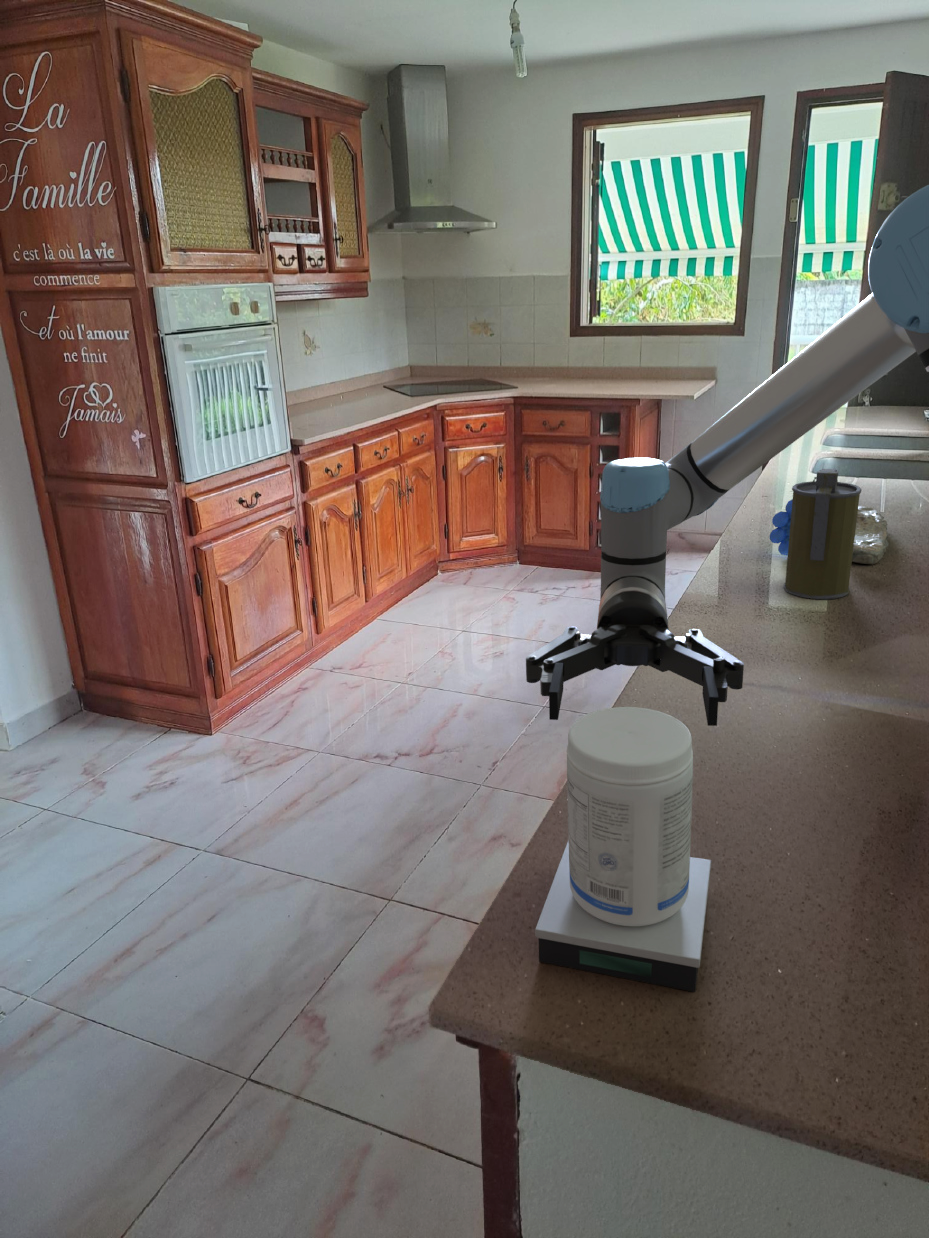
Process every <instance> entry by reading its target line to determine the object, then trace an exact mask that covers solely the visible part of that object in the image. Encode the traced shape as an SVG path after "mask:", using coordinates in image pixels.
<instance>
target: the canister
mask: <svg viewBox="0 0 929 1238" xmlns="http://www.w3.org/2000/svg"><path fill="white" fill-rule="evenodd" d="M813 478H814V479H812V481H804V482H798V483H795V484H793V485H792V487H791V490H792V499H793V501H792V512H791V524H790V535H789V547H788V555H787V559H786V573H785V581H784V583H783V589H784V591H785V592H787V593H789V594H790V595H793V596H795V597H800V598H804V599H809V598H810V600H826V601H827V600H837V599H842V598H844V597H846V596H848V595H849V594H850V593H851V588H850V579H851V571H852V564H853V562H852V555H853V547H854V538H855V530H856V522H857V513H858V506H860V495H861V493H862V488H861V487H860V486H859V485H856V484H854V483H848V482H842V481H838V480H839V479H838V478H839V470H837V469H836V468H835V469H834V468H822V469H820V470H818V471H817V472H816V476H814V477H813Z"/></svg>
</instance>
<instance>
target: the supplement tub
mask: <svg viewBox="0 0 929 1238" xmlns="http://www.w3.org/2000/svg"><path fill="white" fill-rule="evenodd" d="M692 741H693V740H692V734H691V732H690V730H689V728H688V727H687V726H686V725H685V723H683V722H682V721H681V720H679V719H677V718H676V717H674V716H673V715H670V714H668V713H666V712H662V711H659V710H656V709H652V708H646V707H637V706H615V707H607V708H602V709H597V710H593V711H592V712H588V713H587V714H584V715H583V716H581V717H579V718H578V719H576V721H574V722H573V723H572V725H571V726H570V728H569V729H568V733H567V746H566V787H567V788H566V791H567V827H568V828H567V832H568V833H567V834H568V836H567V837H568V839H569V873H570V888H571V891H572V894H573V896H574V898H575V900H576V901H577V902H578V904H579V905H580V906H581V907H582V908H583V909H584V910H585V911H587V912H588V913H589V914H591V915H593V916H594V917H596V918H598V919H600V920H603V921H606V922H609V923H612V924H616V925H622V926H646V925H651V924H655V923H658V922H661V921H663V920H665V919H667V918H669V917H671V916H672V915H674V914H675V913H676V912H677V911H679V910H680V908H681V907H682V906H683V904H684V903H685V901H686V898H687V895H688V891H689V870H690V857H691V842H692V840H691V839H692V813H693V811H692V810H693V809H692V808H693V785H694V782H693V781H694V752H693V751H694V750H693V745H692V744H693V742H692Z"/></svg>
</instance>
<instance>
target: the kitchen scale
mask: <svg viewBox="0 0 929 1238" xmlns="http://www.w3.org/2000/svg"><path fill="white" fill-rule="evenodd" d="M711 868H712V860H711V859H705V858H699V857H691V856H690V870H689V891H688V895H687V898H686V901H685V903H684V904H683V906H682V907H681V908H680V910H679V911H677V912H676V913H675V914H674V915H672V916H671V917H669V918H667V919H665V920H663V921H661V922H658V923H655V924H651V925H646V926H622V925H616V924H612V923H609V922H606V921H603V920H600V919H598V918H596V917H594V916H593V915H591V914H589V913H588V912H587V911H585V910H584V909H583V908H582V907H581V906H580V905H579V904H578V902H577V901H576V900H575V898H574V896H573V894H572V891H571V888H570V873H569V838H568V839H567V842H566V844H565V848H564V850H563V853H562V856H561V859H560V861H559V864H558V867H557V870H556V872H555V875H554V877H553V880H552V883H551V885H550V888H549V891H548V894H547V896H546V898H545V902H544V904H543V907H542V909H541V912H540V915H539V918H538V920H537V924H536V927H535V929H534V933H535V935H534V937H535V938H536V939H538V961H539V963H543V964H548V965H554V966H560V967H565V968H568V969H573V970H574V969H575V970H580V971H584V972H590V973H595V974H600V975H606V976H610V977H615V978H621V979H626V980H631V981H635V982H640V983H646V984H650V985H656V986H661V987H666V988H671V989H677V990H681V991H687V992H692V993H695V992H696V989H697V982H698V981H697V980H698V971H699V968H700V967H701V959H702V950H703V949H702V948H703V941H704V940H703V939H704V932H705V922H706V914H707V913H706V912H707V904H708V895H709V886H710V879H711V878H710V877H711Z"/></svg>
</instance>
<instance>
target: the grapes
mask: <svg viewBox="0 0 929 1238" xmlns="http://www.w3.org/2000/svg"><path fill="white" fill-rule="evenodd" d="M792 501H793V498H792V499H790V500H788V501H787V503H786V504H785V506H784V509H785V511H779V512H777V513H775V514H774V516H773V517H772V520H771V523H772V525H773V526H774V527H775V528H774V529H771V531H770V534H769V541H770V542H771V543H772V544H779V545H778V546H777V551H778V552H779V554H780V555H782V556H788V547H789V535H790V524H791V512H792Z"/></svg>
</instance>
